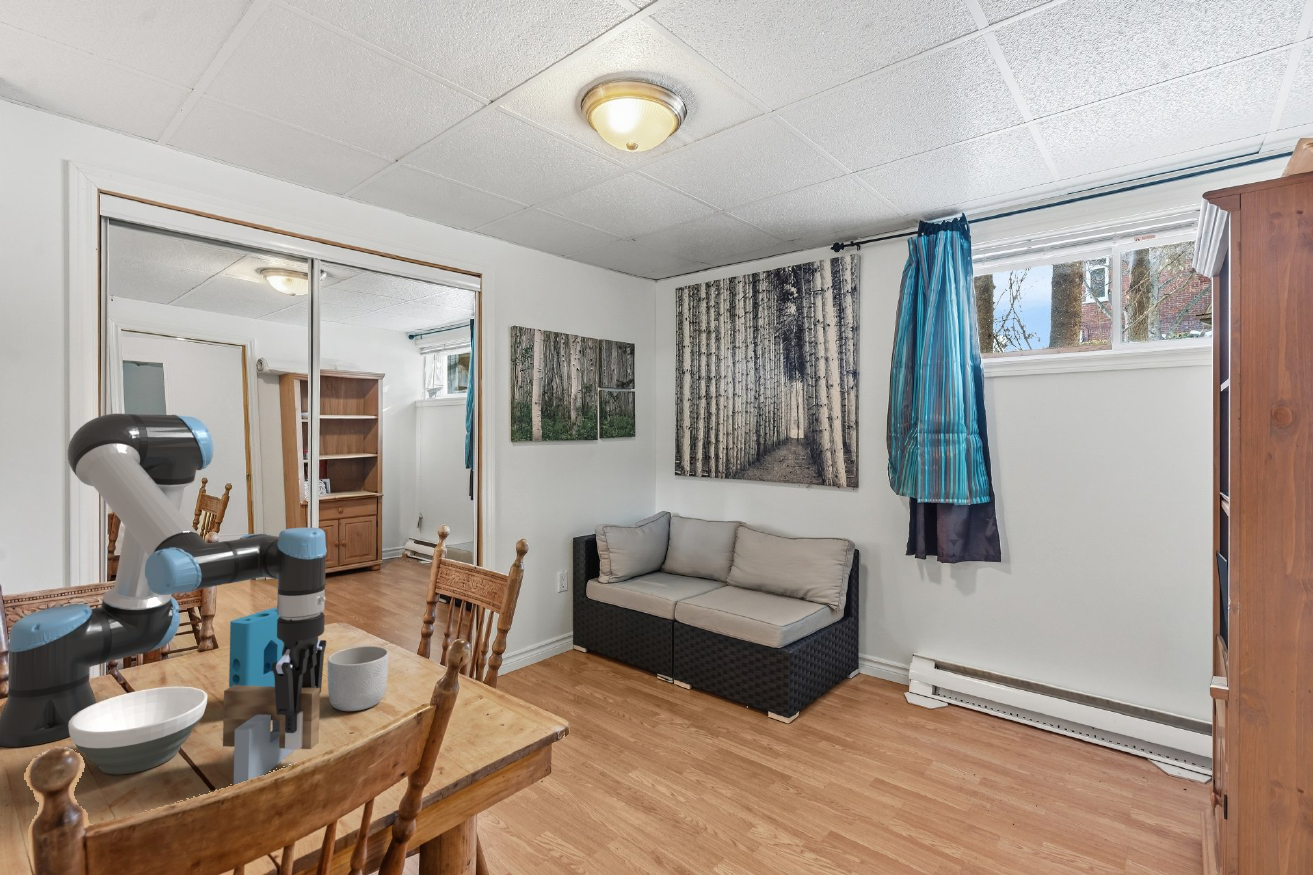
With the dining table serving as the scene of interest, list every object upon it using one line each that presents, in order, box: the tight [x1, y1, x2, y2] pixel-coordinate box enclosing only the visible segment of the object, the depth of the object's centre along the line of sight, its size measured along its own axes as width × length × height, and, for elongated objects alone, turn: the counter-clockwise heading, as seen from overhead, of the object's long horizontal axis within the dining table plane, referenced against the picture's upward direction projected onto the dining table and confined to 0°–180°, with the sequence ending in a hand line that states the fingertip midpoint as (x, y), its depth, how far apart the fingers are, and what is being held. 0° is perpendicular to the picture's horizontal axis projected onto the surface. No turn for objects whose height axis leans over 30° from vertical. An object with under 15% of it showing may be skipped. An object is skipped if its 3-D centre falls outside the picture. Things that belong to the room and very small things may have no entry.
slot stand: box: [233, 714, 296, 785], centre depth 114 cm, size 16×2×10 cm, turn 179°
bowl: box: [68, 686, 209, 776], centre depth 115 cm, size 20×20×10 cm
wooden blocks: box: [222, 685, 321, 750], centre depth 114 cm, size 16×2×10 cm, turn 89°
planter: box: [326, 645, 390, 712], centre depth 140 cm, size 12×12×11 cm
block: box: [228, 606, 284, 688], centre depth 138 cm, size 12×5×20 cm, turn 165°
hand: (298, 743), depth 114 cm, fingers closed on wooden blocks, 3 cm apart
